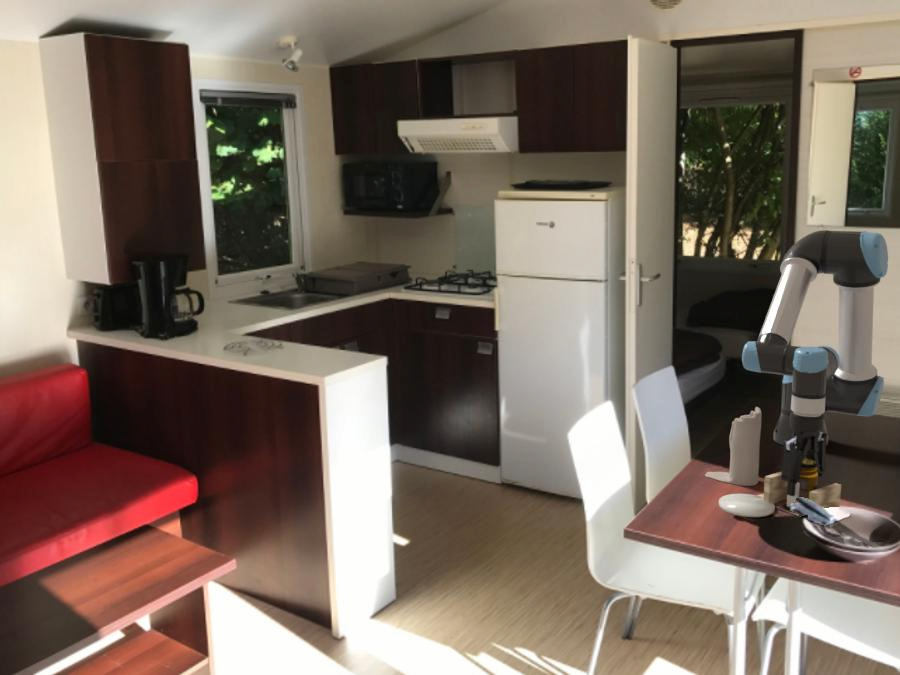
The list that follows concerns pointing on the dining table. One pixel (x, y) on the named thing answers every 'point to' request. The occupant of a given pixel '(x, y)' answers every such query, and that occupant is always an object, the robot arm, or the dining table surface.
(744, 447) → the candle
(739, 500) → the coaster
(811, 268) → the robot arm
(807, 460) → the condiment
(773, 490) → the rack
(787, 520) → the dining table surface
